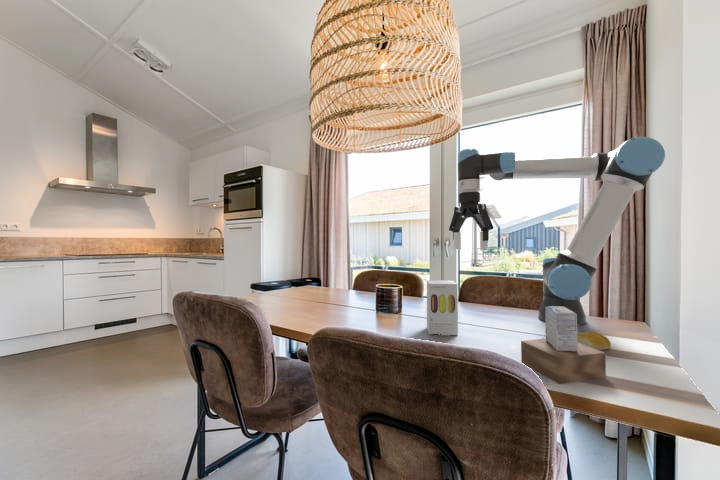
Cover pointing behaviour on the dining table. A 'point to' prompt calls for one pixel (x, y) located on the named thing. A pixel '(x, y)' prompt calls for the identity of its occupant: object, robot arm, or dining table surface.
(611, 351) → the dining table surface
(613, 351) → the dining table surface
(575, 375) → the walnut block
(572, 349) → the medicine box
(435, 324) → the supplement box
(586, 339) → the bread roll
